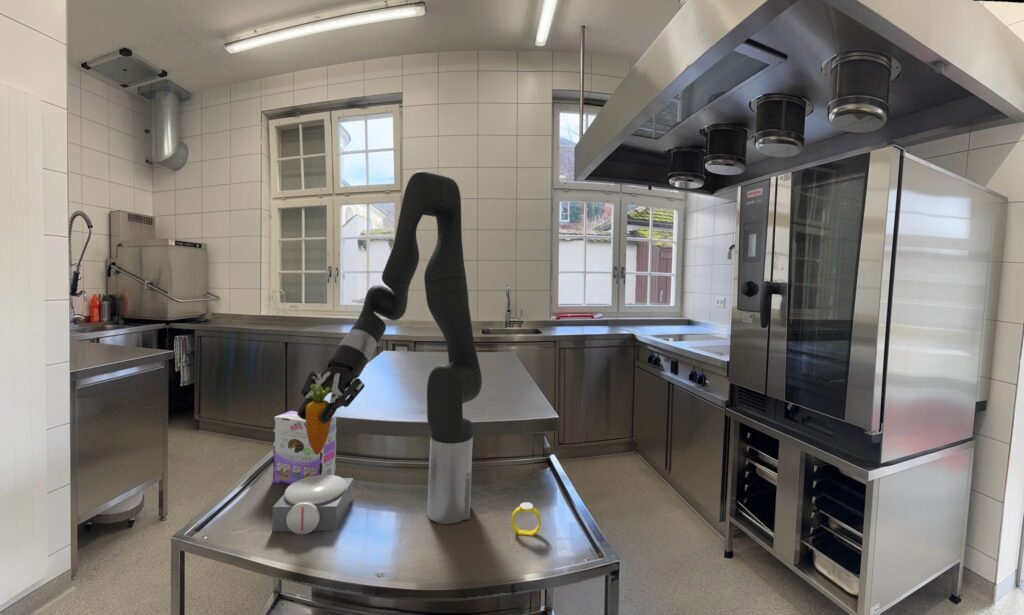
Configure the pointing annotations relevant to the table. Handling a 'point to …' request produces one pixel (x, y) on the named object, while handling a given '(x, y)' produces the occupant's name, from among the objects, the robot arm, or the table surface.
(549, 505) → the table surface
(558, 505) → the table surface
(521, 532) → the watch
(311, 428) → the carrot
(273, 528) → the scale base
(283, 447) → the candy box
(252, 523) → the table surface
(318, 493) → the scale pan
